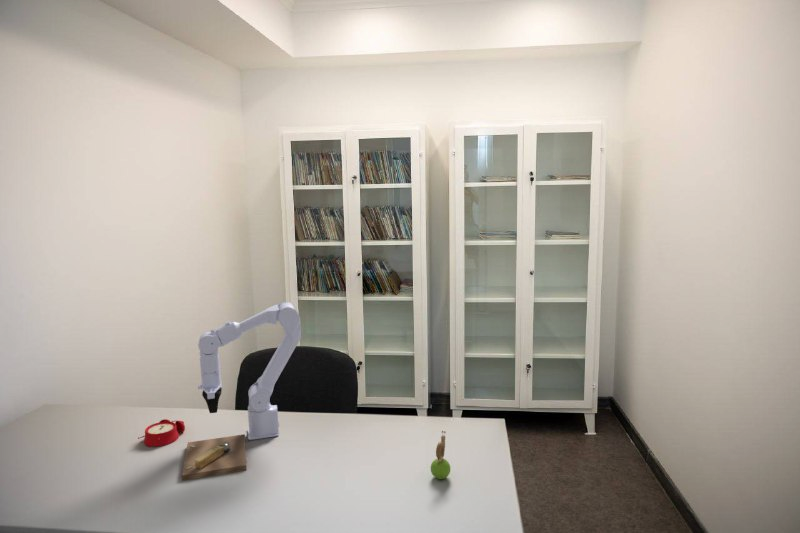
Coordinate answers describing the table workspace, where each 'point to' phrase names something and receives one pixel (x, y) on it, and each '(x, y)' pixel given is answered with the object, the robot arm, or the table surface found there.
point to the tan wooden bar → (212, 454)
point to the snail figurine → (440, 461)
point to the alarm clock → (163, 432)
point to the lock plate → (220, 465)
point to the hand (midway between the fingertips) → (213, 412)
